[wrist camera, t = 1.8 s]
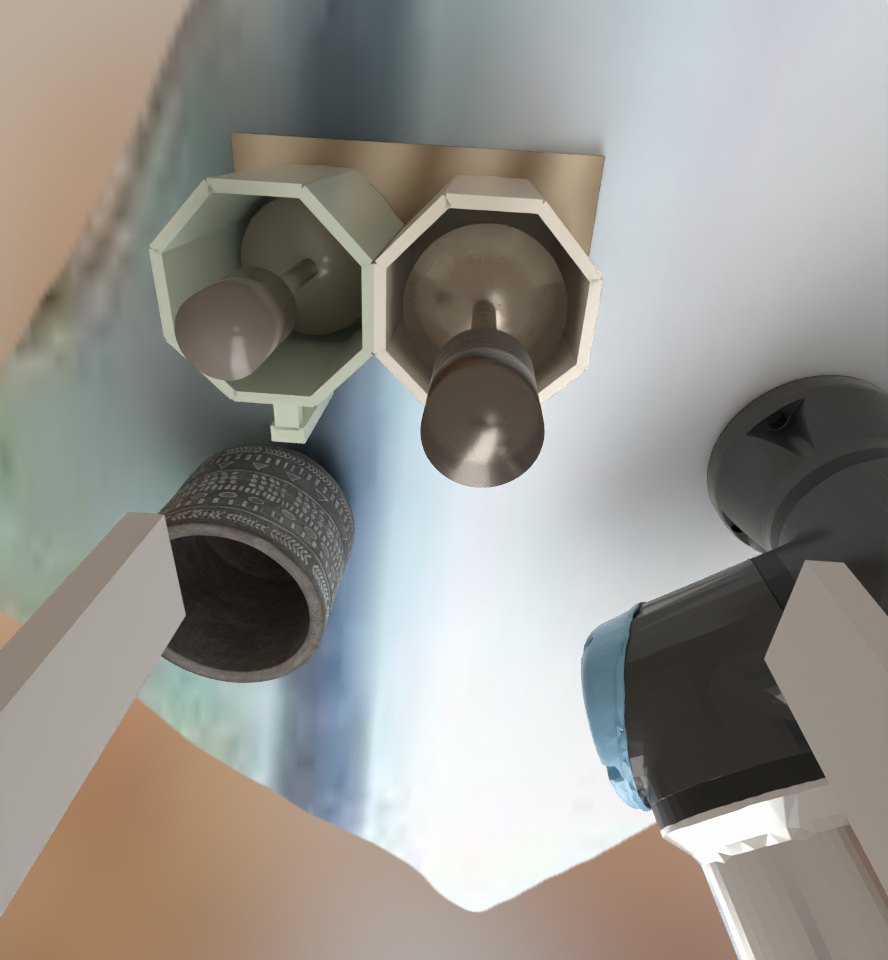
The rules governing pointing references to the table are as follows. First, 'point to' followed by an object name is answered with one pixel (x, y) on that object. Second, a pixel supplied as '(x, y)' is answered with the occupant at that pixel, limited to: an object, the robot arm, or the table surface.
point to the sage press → (275, 284)
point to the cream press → (486, 203)
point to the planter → (256, 562)
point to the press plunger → (484, 348)
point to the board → (438, 171)
